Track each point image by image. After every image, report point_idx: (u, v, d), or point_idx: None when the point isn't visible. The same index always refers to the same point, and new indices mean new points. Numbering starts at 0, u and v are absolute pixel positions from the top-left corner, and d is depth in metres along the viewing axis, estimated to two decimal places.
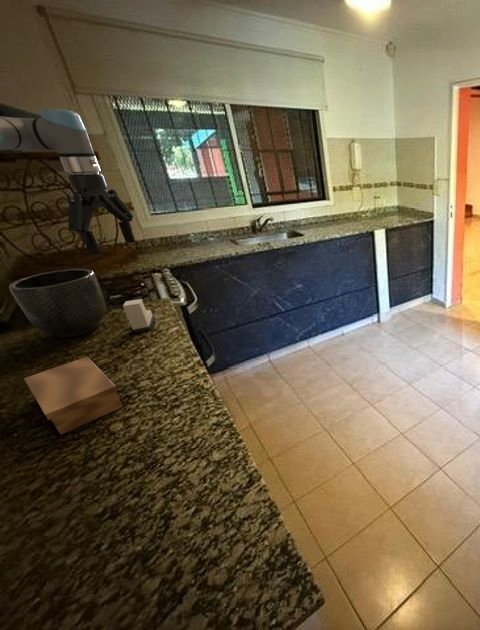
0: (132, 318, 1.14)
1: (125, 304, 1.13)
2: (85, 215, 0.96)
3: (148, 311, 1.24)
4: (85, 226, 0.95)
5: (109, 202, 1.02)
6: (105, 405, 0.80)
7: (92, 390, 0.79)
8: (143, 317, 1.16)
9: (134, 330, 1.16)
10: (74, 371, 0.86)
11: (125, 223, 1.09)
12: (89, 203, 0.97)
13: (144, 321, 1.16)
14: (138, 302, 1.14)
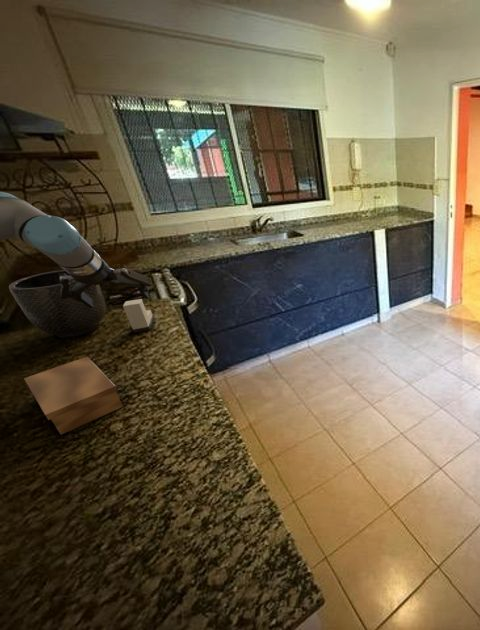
0: (132, 318, 1.14)
1: (125, 304, 1.13)
2: (77, 288, 0.92)
3: (148, 311, 1.24)
4: (73, 296, 0.94)
5: (111, 283, 0.93)
6: (105, 405, 0.80)
7: (92, 390, 0.79)
8: (143, 317, 1.16)
9: (134, 330, 1.16)
10: (74, 371, 0.86)
11: None
12: None
13: (144, 321, 1.16)
14: (138, 302, 1.14)
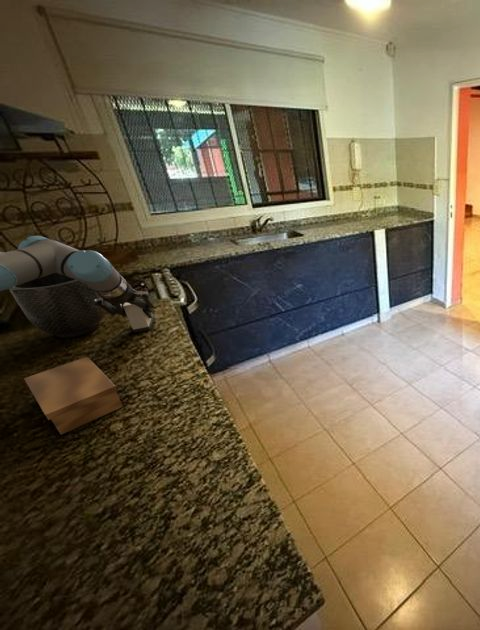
0: (132, 318, 1.14)
1: (125, 304, 1.13)
2: None
3: None
4: (119, 312, 1.12)
5: (130, 303, 1.08)
6: (105, 405, 0.80)
7: (92, 390, 0.79)
8: (143, 317, 1.16)
9: (134, 330, 1.16)
10: (74, 371, 0.86)
11: None
12: None
13: (144, 321, 1.16)
14: None
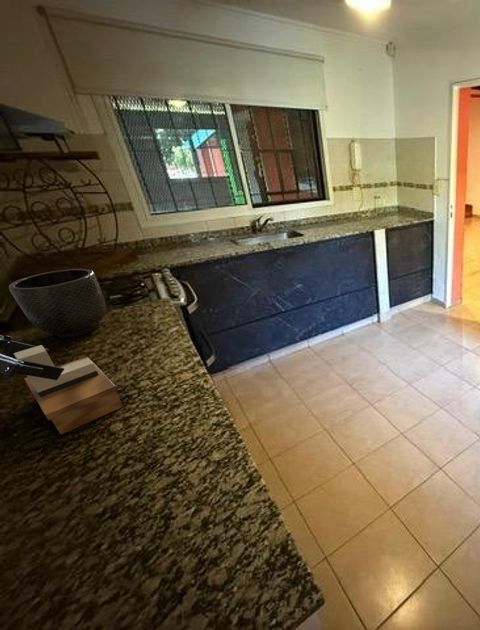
0: None
1: (21, 351, 0.75)
2: None
3: (85, 365, 0.82)
4: None
5: None
6: (105, 405, 0.80)
7: (92, 390, 0.79)
8: (29, 378, 0.75)
9: None
10: None
11: None
12: None
13: (32, 384, 0.76)
14: (24, 356, 0.73)
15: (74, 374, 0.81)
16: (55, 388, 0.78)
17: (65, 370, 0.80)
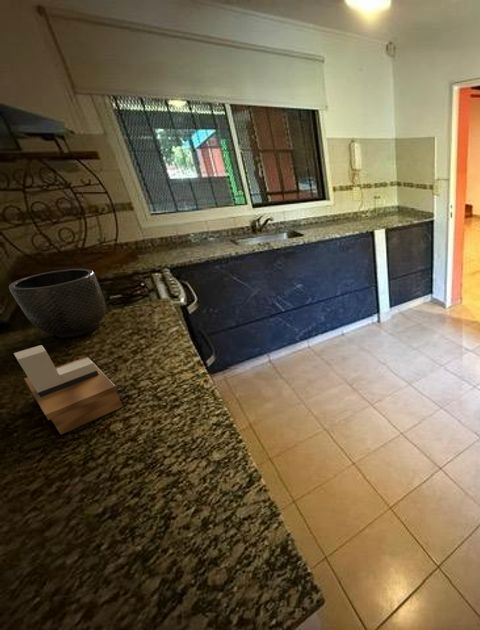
0: None
1: (21, 351, 0.75)
2: None
3: (85, 365, 0.82)
4: None
5: None
6: (105, 405, 0.80)
7: (92, 390, 0.79)
8: (29, 378, 0.75)
9: None
10: None
11: None
12: None
13: (32, 384, 0.76)
14: (24, 356, 0.73)
15: (74, 374, 0.81)
16: (55, 388, 0.78)
17: (65, 370, 0.80)
